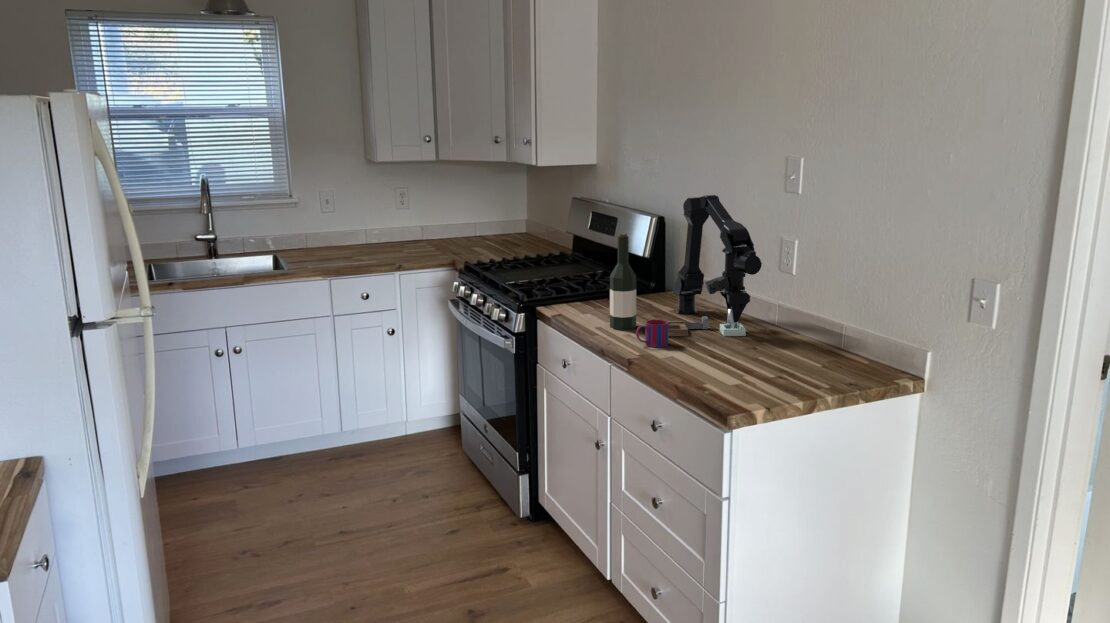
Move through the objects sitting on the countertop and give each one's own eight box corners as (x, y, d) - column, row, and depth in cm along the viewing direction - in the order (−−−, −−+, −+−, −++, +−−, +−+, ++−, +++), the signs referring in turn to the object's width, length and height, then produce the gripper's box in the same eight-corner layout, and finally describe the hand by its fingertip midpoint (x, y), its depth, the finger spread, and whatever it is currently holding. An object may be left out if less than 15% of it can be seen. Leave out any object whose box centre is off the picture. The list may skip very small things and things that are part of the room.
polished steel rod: (726, 330, 253) (726, 308, 251) (736, 329, 253) (737, 307, 251) (728, 332, 250) (728, 310, 248) (738, 332, 250) (739, 310, 248)
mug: (671, 346, 239) (672, 323, 237) (639, 349, 236) (639, 326, 235) (663, 340, 245) (663, 318, 243) (631, 343, 242) (631, 321, 241)
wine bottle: (636, 323, 265) (636, 231, 258) (636, 330, 257) (636, 235, 250) (610, 323, 265) (610, 232, 258) (609, 330, 257) (609, 235, 250)
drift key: (670, 327, 259) (670, 317, 258) (706, 326, 258) (706, 316, 258) (671, 329, 256) (671, 319, 255) (708, 329, 256) (708, 318, 255)
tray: (719, 330, 254) (719, 324, 254) (740, 330, 254) (741, 323, 254) (723, 336, 248) (723, 329, 248) (745, 335, 248) (745, 329, 247)
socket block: (657, 327, 260) (657, 321, 259) (683, 326, 260) (683, 320, 259) (661, 336, 249) (661, 330, 249) (688, 336, 249) (688, 329, 249)
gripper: (702, 263, 256) (701, 312, 259) (713, 275, 238) (711, 327, 241) (738, 263, 255) (736, 311, 259) (751, 274, 237) (749, 326, 241)
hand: (732, 319), depth 250 cm, fingers open, 8 cm apart
